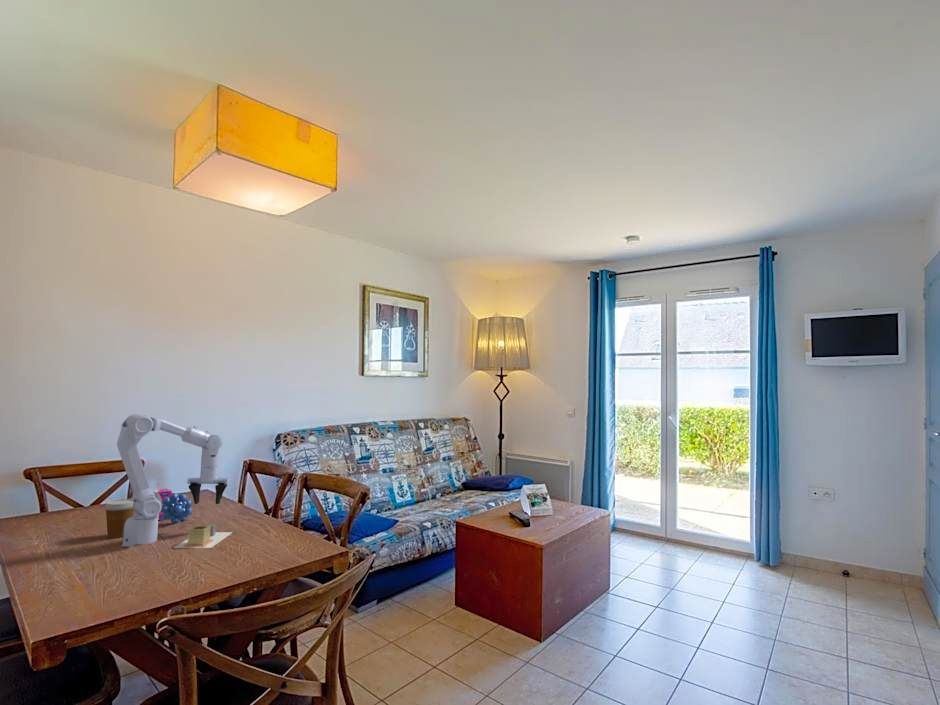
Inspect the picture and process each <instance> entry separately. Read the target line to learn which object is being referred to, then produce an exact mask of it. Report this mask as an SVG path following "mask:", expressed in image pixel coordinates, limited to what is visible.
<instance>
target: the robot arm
mask: <svg viewBox="0 0 940 705" xmlns="http://www.w3.org/2000/svg"><path fill="white" fill-rule="evenodd" d="M157 431H163V432H165V433H169V434H172V435H175V436H179V437H180V439H181V440H182V442H184V443H186V444H190V445H193V446H196V447H199V448H201V455H200V456H201V458H200V471H199V472H200V474H199V475H200V476H199V477H188V478H187V481H186V484H187V485H188V488H189V489H188V490H190V492H191V495H192V498H193V504H194V505H197V504H199V502H200V495H201V494H200V493H201V488H202V485H206V484H207V485H214V487H215V505H219V504H221V500H222V497H223V494H224V492H225V490H226V488H227V487H228V485H229V484H230V477H229V478H227V477H219V476H218V471H219V470H218V469H219V451H220V448H221V447H222V445H223V442H222V439H221V438H220V436H219V435H217V434H212V433H211V432H210V431H208V430H206V431H204V430H201V429H199V427H198V426H196V425H193V426H191V425H190V426H187V427H182V426H180V425H178V424H176V423H172V422H170V421H167V420H164V419H162V418H158V417H152V416H148V415H141V414H137V413H135V414H130V415H129V416H127V418H126V419H125V420H124V421H123V422H122V423H121V429H120V432H119V436H118V438H117V441H116V446H117V448H118V452H119V455H120V458H121V462H122V464H123V466H124V470H125V473H126V475H127V479H128V481H129V484H130V488H131V489H132V499H133V500H134V502H133V509H134V512H135V514H133V517H130V518H128V519H127V520H126V522H125V525H124V534H123V537H122V544H121V546H120V547H121V548H122V547H132V548H133V547H134V546H135V545H146V544H147V545H148V544H153V543H154V542H157V541H158V528H159V521H158V519H159V513H160V511H161V508H162V504H161V502H160V501H159V500H157V499H156V497H155V494H154V493H153V491H152V488H151V485H150V483H149V480H148V476H147V473H146V470H145V468H144V466H143V462H142V459H141V456H140V452H139V451H138V448H137V445H138V443H140V441H141V440H142V438H143V437H145V436H146V435H147V434H149V433H150V432H157Z"/></svg>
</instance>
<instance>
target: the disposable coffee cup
mask: <svg viewBox="0 0 940 705" xmlns="http://www.w3.org/2000/svg"><path fill="white" fill-rule="evenodd" d="M133 502H134V500H133V498H122V499H114V500H110V501H107V502H105V505H104V509H105V516H106V517H105V518H106V530H107V532H106V533H107V538H108V537H110V538H109V539H119V538H118V537H121V538H123V534H124V525H125V522H126V520H127V519H128V518H130V517H134V512H135V511H134V509H133Z"/></svg>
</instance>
